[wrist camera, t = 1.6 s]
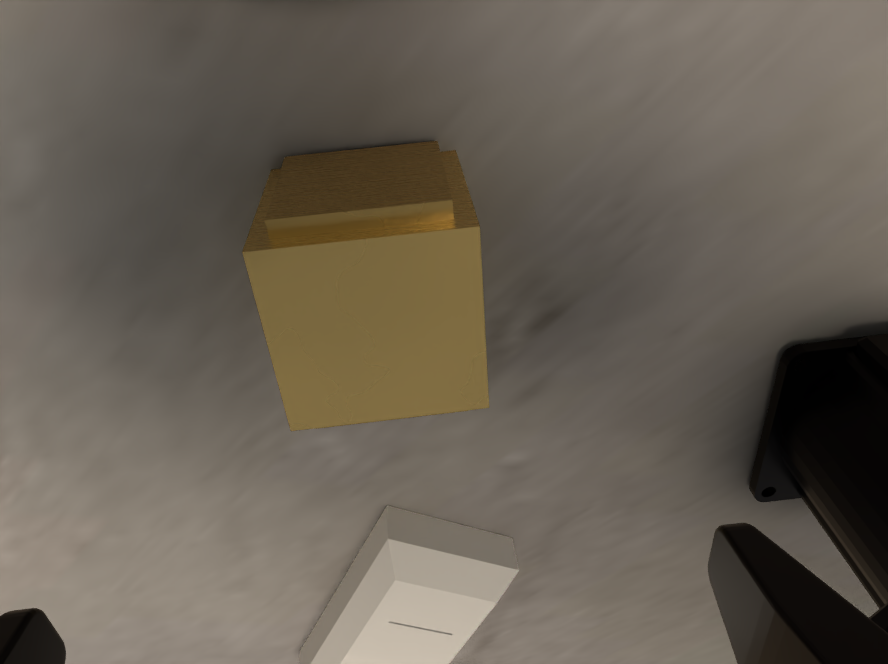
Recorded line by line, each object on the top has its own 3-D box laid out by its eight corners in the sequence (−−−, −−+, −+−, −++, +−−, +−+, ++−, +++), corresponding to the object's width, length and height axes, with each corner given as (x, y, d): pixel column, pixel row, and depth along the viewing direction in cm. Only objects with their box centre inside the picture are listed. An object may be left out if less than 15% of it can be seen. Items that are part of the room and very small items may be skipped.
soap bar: (510, 529, 25) (524, 591, 23) (411, 663, 29) (414, 726, 27) (386, 496, 23) (388, 560, 21) (300, 642, 28) (294, 708, 25)
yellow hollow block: (466, 316, 19) (490, 421, 16) (309, 334, 19) (294, 443, 15) (454, 133, 16) (478, 206, 13) (267, 152, 16) (236, 232, 12)
